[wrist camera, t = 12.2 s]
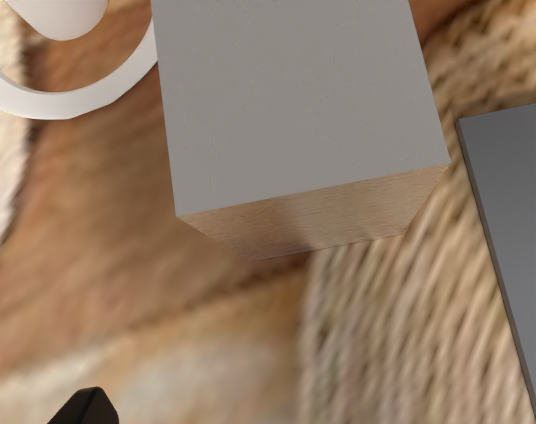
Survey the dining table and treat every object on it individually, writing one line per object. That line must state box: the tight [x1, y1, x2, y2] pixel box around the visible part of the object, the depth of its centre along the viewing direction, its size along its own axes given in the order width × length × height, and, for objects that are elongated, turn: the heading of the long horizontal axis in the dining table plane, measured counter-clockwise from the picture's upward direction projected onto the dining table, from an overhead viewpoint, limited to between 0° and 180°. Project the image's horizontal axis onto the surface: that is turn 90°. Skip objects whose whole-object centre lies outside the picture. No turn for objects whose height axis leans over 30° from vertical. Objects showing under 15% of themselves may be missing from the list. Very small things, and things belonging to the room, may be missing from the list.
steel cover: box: [151, 0, 451, 262], centre depth 15 cm, size 6×6×9 cm
